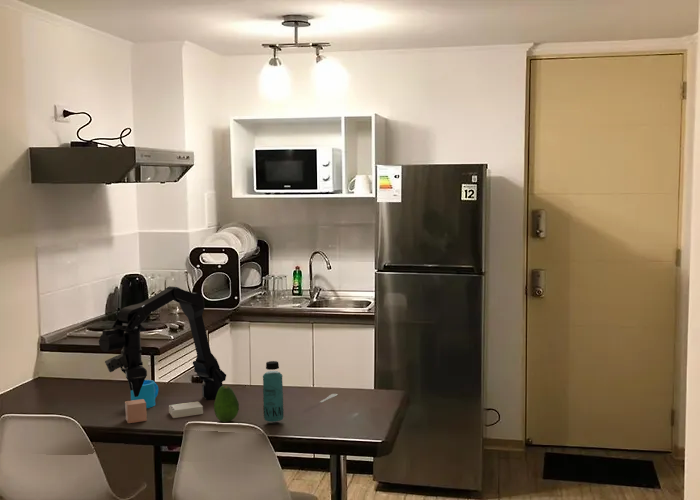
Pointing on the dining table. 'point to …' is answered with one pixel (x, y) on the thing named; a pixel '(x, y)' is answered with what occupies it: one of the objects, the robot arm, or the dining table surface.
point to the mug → (147, 393)
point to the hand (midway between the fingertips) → (134, 393)
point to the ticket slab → (185, 409)
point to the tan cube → (135, 411)
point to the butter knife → (329, 397)
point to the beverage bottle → (272, 393)
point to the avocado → (226, 404)
